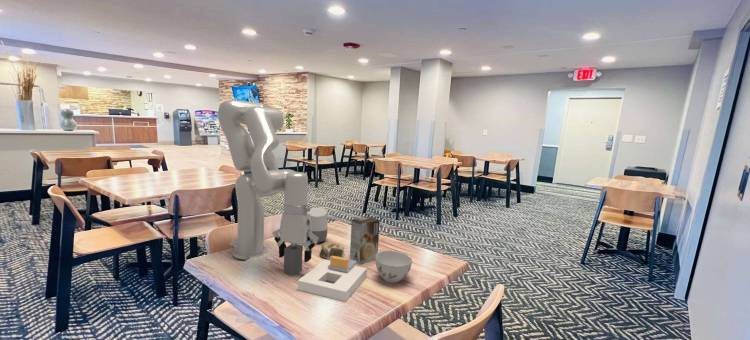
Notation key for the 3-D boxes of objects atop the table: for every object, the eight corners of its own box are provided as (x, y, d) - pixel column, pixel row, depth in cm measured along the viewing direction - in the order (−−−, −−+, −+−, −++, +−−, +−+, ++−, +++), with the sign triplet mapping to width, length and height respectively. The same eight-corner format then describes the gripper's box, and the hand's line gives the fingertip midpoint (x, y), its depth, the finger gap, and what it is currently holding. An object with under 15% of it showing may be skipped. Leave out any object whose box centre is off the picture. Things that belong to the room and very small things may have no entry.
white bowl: (396, 292, 103) (398, 268, 102) (366, 279, 110) (367, 256, 109) (421, 277, 114) (423, 255, 113) (392, 266, 122) (393, 245, 121)
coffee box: (367, 254, 132) (369, 215, 130) (377, 260, 127) (380, 220, 125) (348, 259, 126) (351, 218, 124) (359, 265, 121) (361, 223, 119)
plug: (283, 273, 110) (284, 241, 109) (291, 267, 115) (292, 236, 114) (293, 275, 109) (295, 243, 108) (301, 270, 114) (303, 238, 112)
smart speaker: (303, 243, 139) (304, 211, 137) (307, 236, 148) (308, 206, 146) (325, 244, 139) (326, 212, 137) (328, 237, 148) (329, 207, 147)
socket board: (297, 289, 100) (297, 280, 100) (324, 267, 117) (325, 259, 117) (345, 301, 95) (346, 291, 95) (366, 276, 112) (367, 268, 112)
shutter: (327, 268, 109) (328, 257, 109) (338, 259, 117) (339, 249, 117) (347, 272, 107) (347, 261, 106) (356, 263, 115) (357, 252, 114)
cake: (315, 253, 130) (315, 240, 129) (337, 249, 136) (337, 236, 135) (326, 262, 122) (327, 248, 121) (349, 257, 128) (350, 244, 127)
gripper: (324, 209, 110) (322, 258, 112) (280, 204, 115) (279, 251, 117) (313, 214, 103) (312, 267, 105) (266, 208, 108) (266, 258, 110)
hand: (294, 258), depth 111 cm, fingers open, 9 cm apart
